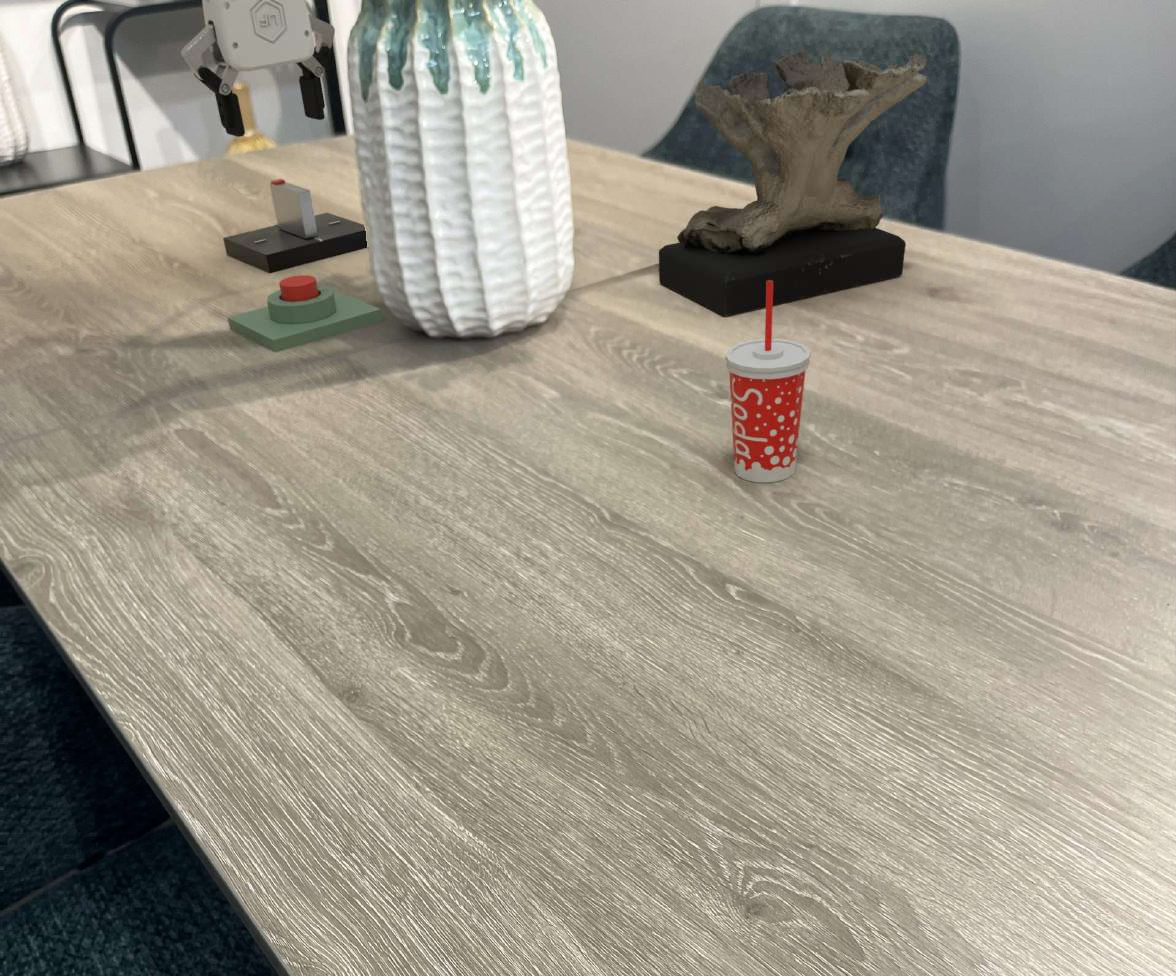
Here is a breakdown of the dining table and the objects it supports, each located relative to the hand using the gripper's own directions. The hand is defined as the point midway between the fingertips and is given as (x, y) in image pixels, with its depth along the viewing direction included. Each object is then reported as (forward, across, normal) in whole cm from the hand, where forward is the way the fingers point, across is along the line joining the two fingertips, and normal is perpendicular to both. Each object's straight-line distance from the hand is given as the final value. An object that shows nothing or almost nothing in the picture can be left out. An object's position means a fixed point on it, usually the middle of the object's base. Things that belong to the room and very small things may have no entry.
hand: (276, 126), depth 138 cm
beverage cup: (+15, -3, -76) cm, 78 cm away
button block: (+15, -11, -20) cm, 27 cm away
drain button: (+12, -11, -20) cm, 26 cm away
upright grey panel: (+12, +3, +5) cm, 13 cm away
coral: (+15, +33, -48) cm, 60 cm away
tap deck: (+15, +3, +5) cm, 16 cm away
